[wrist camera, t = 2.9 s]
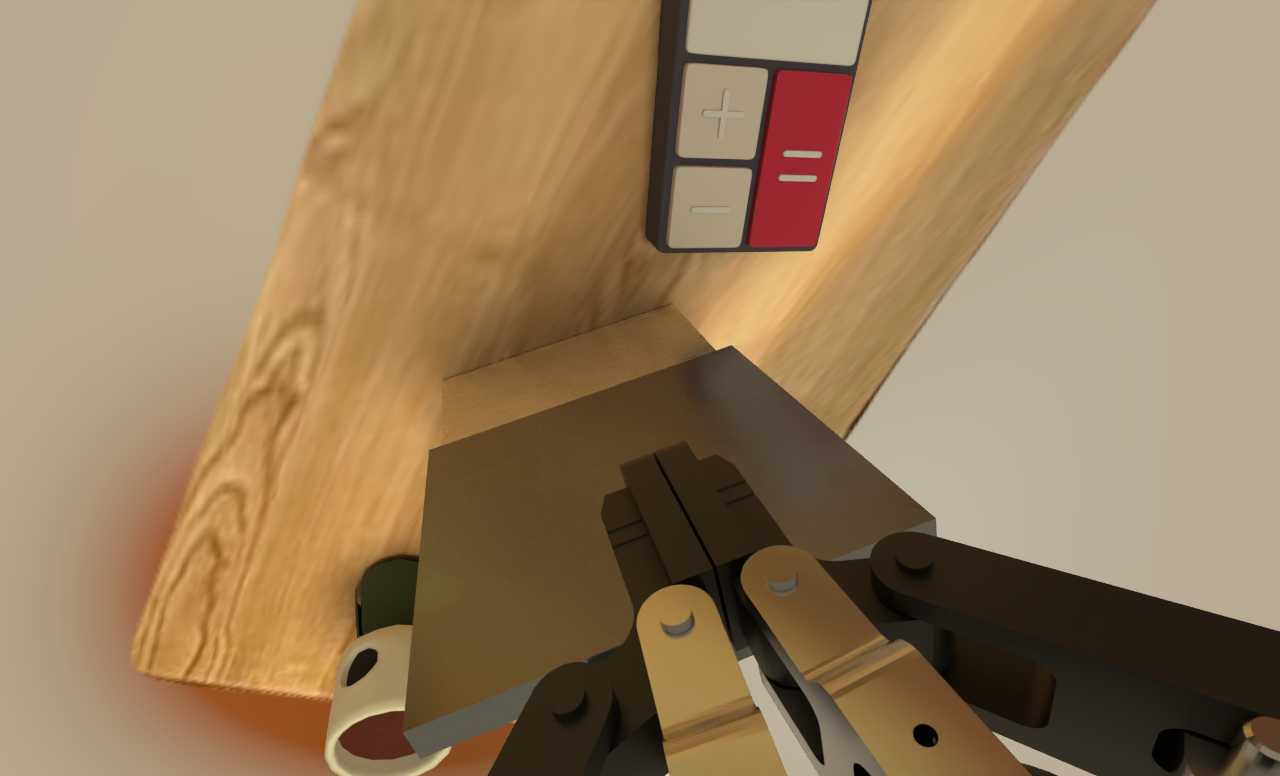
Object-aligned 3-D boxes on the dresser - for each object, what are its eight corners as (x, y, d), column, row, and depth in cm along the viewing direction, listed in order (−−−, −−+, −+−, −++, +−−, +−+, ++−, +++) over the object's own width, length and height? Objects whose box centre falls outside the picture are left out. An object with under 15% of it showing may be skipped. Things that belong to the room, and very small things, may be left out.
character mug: (385, 517, 44) (368, 672, 33) (478, 543, 48) (491, 692, 37) (324, 627, 47) (290, 802, 36) (416, 644, 51) (410, 810, 40)
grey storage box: (442, 380, 41) (444, 467, 32) (672, 303, 43) (730, 366, 34) (521, 551, 49) (538, 656, 41) (710, 480, 51) (765, 566, 43)
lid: (438, 469, 32) (429, 450, 32) (735, 364, 34) (731, 345, 34) (417, 799, 17) (399, 773, 16) (964, 571, 19) (963, 541, 18)
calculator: (660, 258, 38) (690, -46, 30) (640, 236, 41) (663, -41, 34) (822, 255, 41) (886, -22, 33) (791, 235, 44) (842, -19, 37)
